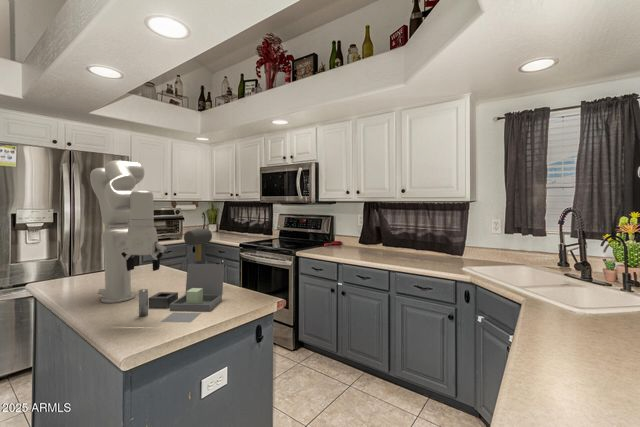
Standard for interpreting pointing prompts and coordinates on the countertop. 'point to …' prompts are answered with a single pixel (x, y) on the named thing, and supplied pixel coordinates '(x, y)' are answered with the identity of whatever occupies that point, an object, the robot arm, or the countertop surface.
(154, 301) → the square socket block
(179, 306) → the case
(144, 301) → the rod
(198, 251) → the rubber mallet
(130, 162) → the robot arm
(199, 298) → the block
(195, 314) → the mat
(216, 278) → the lid
